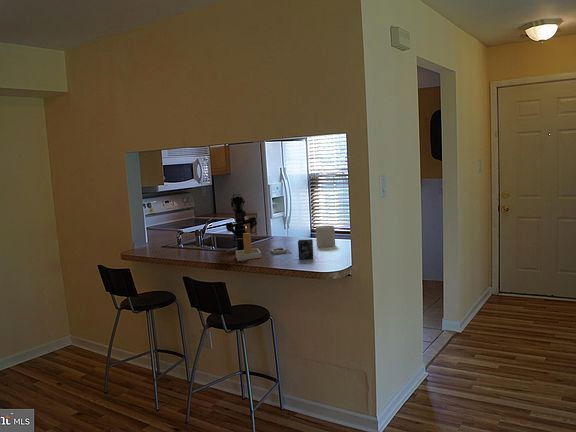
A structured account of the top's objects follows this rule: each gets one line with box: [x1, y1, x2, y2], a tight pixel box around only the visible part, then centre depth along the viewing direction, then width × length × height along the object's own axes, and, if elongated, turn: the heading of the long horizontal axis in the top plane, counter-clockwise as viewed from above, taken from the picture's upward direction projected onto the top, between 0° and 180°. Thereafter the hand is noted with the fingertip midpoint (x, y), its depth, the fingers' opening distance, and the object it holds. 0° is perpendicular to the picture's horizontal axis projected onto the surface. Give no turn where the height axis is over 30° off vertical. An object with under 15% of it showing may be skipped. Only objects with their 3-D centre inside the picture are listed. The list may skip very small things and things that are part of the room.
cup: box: [315, 225, 336, 248], centre depth 322 cm, size 12×12×12 cm
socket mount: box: [265, 247, 293, 257], centre depth 306 cm, size 14×14×3 cm
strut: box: [243, 232, 253, 254], centre depth 300 cm, size 4×4×14 cm
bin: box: [235, 248, 262, 263], centre depth 301 cm, size 14×14×4 cm
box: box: [297, 238, 314, 260], centre depth 289 cm, size 8×6×11 cm
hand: (243, 235), depth 307 cm, fingers open, 9 cm apart
